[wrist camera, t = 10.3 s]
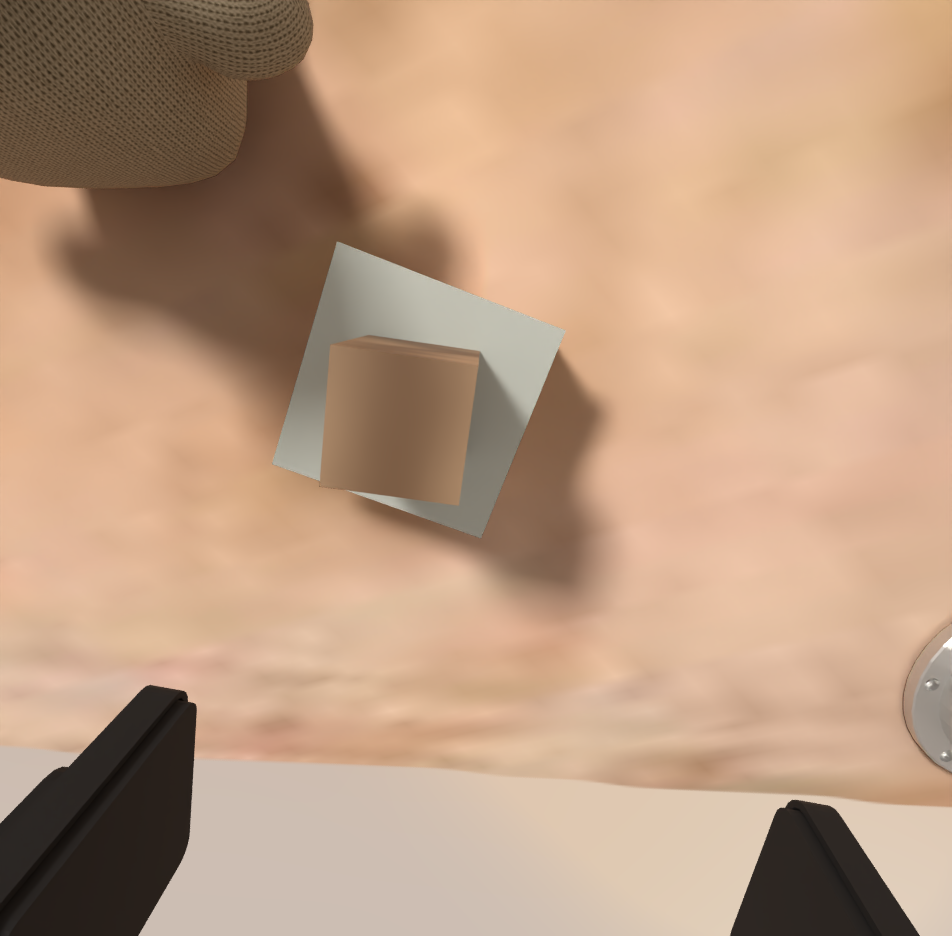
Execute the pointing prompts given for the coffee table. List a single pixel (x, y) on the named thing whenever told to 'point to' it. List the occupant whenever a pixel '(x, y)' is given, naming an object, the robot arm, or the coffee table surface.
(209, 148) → the grey cat statue
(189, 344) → the coffee table surface
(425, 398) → the walnut block
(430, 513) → the pale grey box
